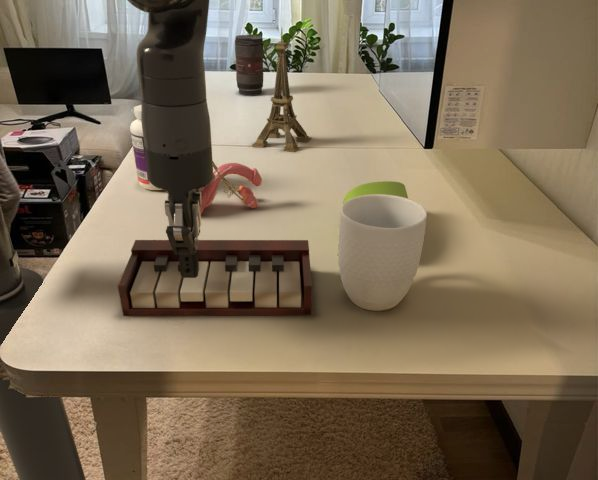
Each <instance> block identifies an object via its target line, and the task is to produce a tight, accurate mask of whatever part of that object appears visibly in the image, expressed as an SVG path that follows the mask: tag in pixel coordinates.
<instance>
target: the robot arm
mask: <svg viewBox="0 0 598 480" xmlns="http://www.w3.org/2000/svg"><path fill="white" fill-rule="evenodd" d="M127 2H128V3H130V5H132V6H133V7H134V8H135V9H138V10H140V11H141V12H144V13H146V14H147V13H148V15H147V16H148V17H147V18H148V19H147V31H146V34H145V35H144V37H143V38H142V39H141V40H140V42H139V44H138V45H137V47H136V70H137V77H138V78H137V79H138V86H139V94H140V105H141V106H142V110H141V121H142V131H143V138H144V146H145V154H146V163H147V171H148V178H149V181H150V183H151V184H152V185H153V186H155V187H157V188H159V189H163V190H162V191H164V192H167V199H165V200H164V213H165V216H166V217H167V221H168V225H167V226H166V229H165V234H166V237H167V240H169V242H170V244H171V247H172V250H173V252H174V254H179V263H180V273H181V276H182V277H184V278H196V277H197V276H198V272H199V263H198V244H199V240H200V239H199V236H200V233H201V226H202V216H201V215H202V214H200V206H201V203H202V198H201V193H200V191H199V190H198V189H200V190H201V189H203V188H204V187H205V186H207V185H208V184H210V183H211V181H212V180H213V173H214V167H213V162H214V160H213V148H212V147H213V145H212V129H211V127H212V126H211V118H210V112H209V107H208V99H207V83H206V67H205V60H204V50H205V42H206V36H207V32H208V31H207V30H208V21H209V20H208V18H209V9H210V0H127ZM18 261H19V255H18V251H17V250H15V249H14V246H13V243H12V239H11V236H10V232H9V229H8V225H7V222H6V219H5V216H4V212H3V209H2V206H1V204H0V304H1V303H4V302H7V301H9V300H11V299H13V298H15V297H16V296H18V295H19V294H20V293H21V292H22V291H23V289H24V286H25V284H24V281H23V277H22V275H21V272H20V270H19V267H20V266H19V263H18Z"/></svg>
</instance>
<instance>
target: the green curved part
mask: <svg viewBox="0 0 598 480" xmlns="http://www.w3.org/2000/svg"><path fill="white" fill-rule="evenodd" d="M374 194H384V195H393V196H399V197H403V198H407V199H409V196H408V192H407V188H406V186H405V184H404V183H403V182H399V181H392V180H391V181H390V180H389V181H388V180H387V181H386V180H385V181H384V180H383V181H374V182H367V183H363V184H360V185H357V186H355V187H353V188H351V189H350V190H349V191H348V192H347V193H346V195H345V196H344V198H343V199H342V200H343V201H342V205H343V204H344V203H345V202H346V201H348V200H350V199H352V198H355V197H359V196H364V195H374ZM342 205H341V206H342Z"/></svg>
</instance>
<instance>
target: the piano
mask: <svg viewBox="0 0 598 480" xmlns="http://www.w3.org/2000/svg"><path fill="white" fill-rule="evenodd" d="M198 240H199V244H198V261H208V262H209V274H208V279H207V284H206V289H205V295H204V300H203V301H181V297H180V291H181V287H182V283H183V279H184V277H182V276H181V273H180V263H179V254H174V252H173V250H172V247H171V244H170V242H169V239H135V240H134V242H133V245H132V247H131V249H130V253H131V254H130V256H129V259H128V261H127V263H126V266H125V268H124V271H123V272H122V275H121V277H120V280H119V282H118V284H117V290H118V291H117V292H118V296H119V301H120V306H121V311H122V316H123V317H129V316H130V317H131V316H132V317H136V316H137V317H138V316H139V317H143V316H145V317H146V316H147V317H148V316H149V317H150V316H152V317H153V316H155V317H156V316H157V317H158V316H161V317H162V316H163V317H164V316H165V317H166V316H169V317H170V316H175V317H177V316H311V315H312V304H313V303H312V302H313V282H312V281H313V280H312V272H311V271H312V270H311V259H310V245H309V240H308V239H198ZM238 261H249V265H248V266H249V271H254V284H253V299H252V301H230V286H231V278H232V271H237V266H238Z"/></svg>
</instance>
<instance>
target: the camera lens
mask: <svg viewBox="0 0 598 480" xmlns="http://www.w3.org/2000/svg"><path fill="white" fill-rule="evenodd" d="M263 38H264V37H263V36H260V35H255V34H253V35H252V34H239V35H236V36H235V40H234V55H235V71H236V72H235V74H236V75H235V77H236V79H235V80H236V87H237V88H238V94H239V95H242V96H258V95H261V94H262V92H263V91H262V90H263V86H264V56H265V55H264V52H265V51H264V39H263Z"/></svg>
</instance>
